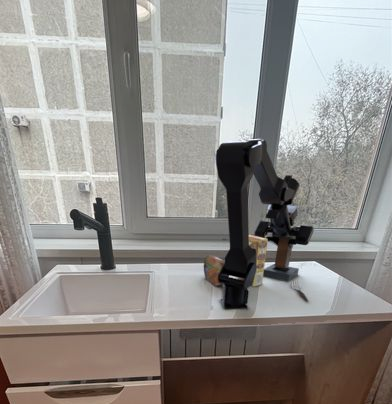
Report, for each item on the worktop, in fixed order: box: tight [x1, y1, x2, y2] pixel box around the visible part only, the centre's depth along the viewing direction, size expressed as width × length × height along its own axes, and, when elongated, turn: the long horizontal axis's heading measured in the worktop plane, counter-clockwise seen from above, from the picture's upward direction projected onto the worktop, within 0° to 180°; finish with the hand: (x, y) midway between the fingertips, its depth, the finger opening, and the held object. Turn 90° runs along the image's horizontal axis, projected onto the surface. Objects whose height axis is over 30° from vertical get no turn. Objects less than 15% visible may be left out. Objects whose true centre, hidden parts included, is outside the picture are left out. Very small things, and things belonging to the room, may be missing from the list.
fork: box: [290, 280, 309, 302], centre depth 91 cm, size 3×16×2 cm, turn 179°
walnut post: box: [274, 237, 293, 269], centre depth 103 cm, size 4×4×13 cm
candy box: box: [236, 234, 269, 287], centre depth 96 cm, size 9×4×15 cm, turn 33°
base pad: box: [263, 263, 300, 282], centre depth 107 cm, size 10×10×2 cm
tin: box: [203, 255, 225, 287], centre depth 97 cm, size 15×3×8 cm, turn 21°
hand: (286, 247), depth 103 cm, fingers closed on walnut post, 4 cm apart
